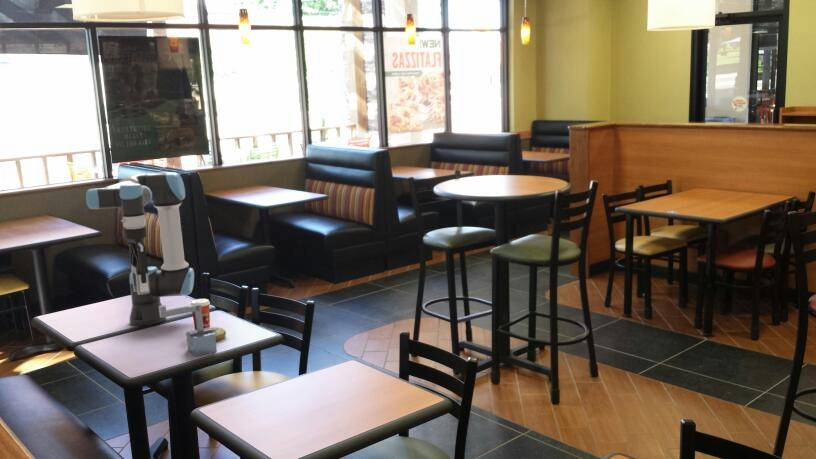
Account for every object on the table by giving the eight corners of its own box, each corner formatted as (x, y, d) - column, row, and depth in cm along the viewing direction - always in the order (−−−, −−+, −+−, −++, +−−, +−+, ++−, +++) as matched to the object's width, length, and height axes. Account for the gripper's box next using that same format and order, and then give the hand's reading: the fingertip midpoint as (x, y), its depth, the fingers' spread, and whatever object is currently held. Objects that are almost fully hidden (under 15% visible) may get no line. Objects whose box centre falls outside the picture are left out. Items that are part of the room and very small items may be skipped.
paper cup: (209, 336, 296) (206, 303, 294) (190, 337, 296) (187, 303, 294) (215, 330, 304) (212, 297, 301) (196, 331, 304) (193, 298, 302)
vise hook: (161, 355, 276) (155, 303, 273) (208, 344, 286) (204, 295, 283) (168, 362, 268) (163, 309, 265) (217, 351, 278) (212, 300, 274)
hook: (133, 291, 269) (130, 264, 267) (144, 289, 271) (141, 262, 269) (138, 295, 263) (135, 267, 262) (150, 292, 266) (147, 265, 264)
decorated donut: (194, 339, 295) (193, 330, 294) (219, 333, 301) (218, 324, 301) (204, 345, 287) (203, 335, 286) (230, 338, 293) (229, 329, 292)
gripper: (117, 225, 269) (123, 286, 273) (131, 232, 253) (138, 296, 257) (138, 222, 273) (144, 282, 277) (153, 229, 257) (159, 292, 261)
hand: (141, 289), depth 267 cm, fingers closed on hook, 7 cm apart
